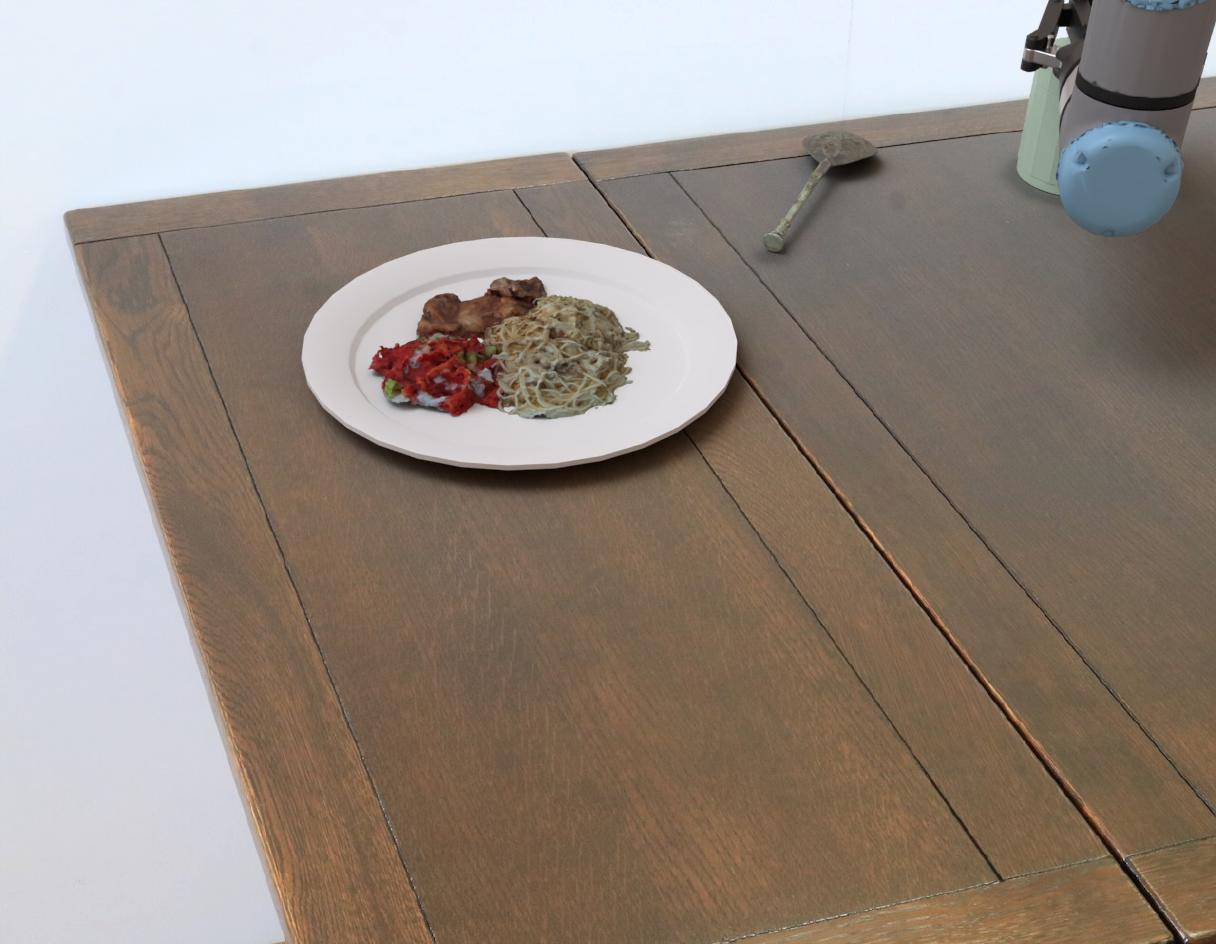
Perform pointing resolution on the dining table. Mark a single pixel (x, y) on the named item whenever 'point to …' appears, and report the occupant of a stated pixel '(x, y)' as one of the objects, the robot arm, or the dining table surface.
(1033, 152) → the jar
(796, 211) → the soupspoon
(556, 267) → the plated food
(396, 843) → the dining table surface
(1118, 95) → the robot arm
